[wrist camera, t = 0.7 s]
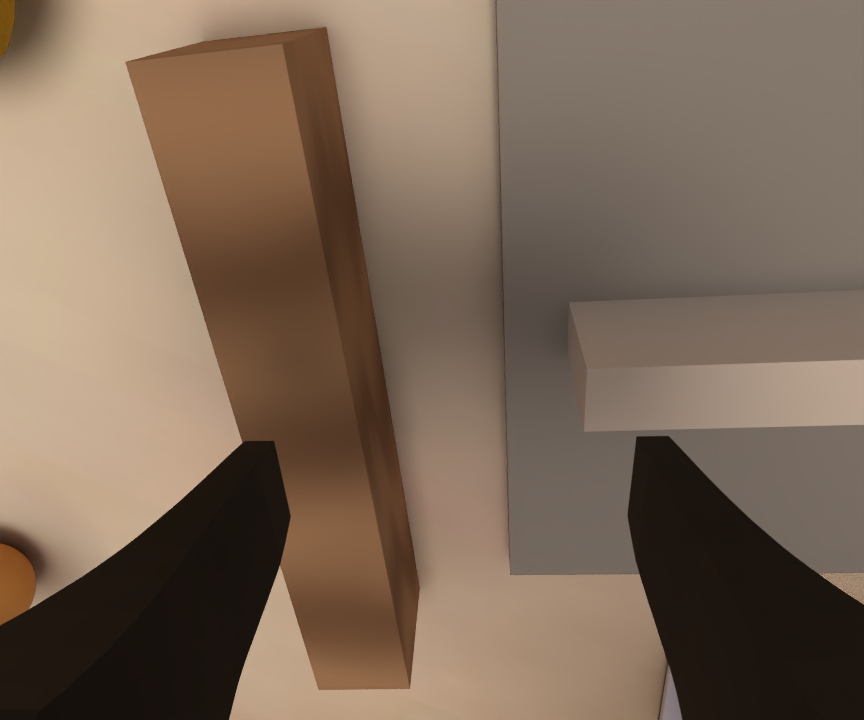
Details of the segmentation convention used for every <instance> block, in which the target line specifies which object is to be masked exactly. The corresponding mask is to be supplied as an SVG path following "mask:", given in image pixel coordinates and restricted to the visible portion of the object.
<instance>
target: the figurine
mask: <svg viewBox="0 0 864 720" xmlns="http://www.w3.org/2000/svg"><path fill="white" fill-rule="evenodd" d="M35 590H36V578H35V573H34V570H33V567H32V565H31V564H30V562H29V560H28V559H27V558H26V557H25V556H24V555H23V554H22V553H21V552H19V551H18V550H16V549H15V548H13V547H10V546H8V545H5V544H0V625H1V624H3V623H5V622H7V621H9V620H11V619H12V618H14V617H16V616H18V615H20V614H22V613H23V612H25V611H27V610H28V609H29V608H30V606H31V604H32V601H33V598H34V595H35Z"/></svg>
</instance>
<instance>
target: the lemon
mask: <svg viewBox="0 0 864 720" xmlns="http://www.w3.org/2000/svg"><path fill="white" fill-rule="evenodd" d="M14 20H15V0H0V59H1V57H2V55H3V54H4V52H5V50H6V49H7V47H8V45H9V42H10V38H11V33H12V29H13V25H14Z"/></svg>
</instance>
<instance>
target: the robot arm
mask: <svg viewBox="0 0 864 720" xmlns="http://www.w3.org/2000/svg"><path fill="white" fill-rule="evenodd" d="M627 517H628V522H629V528H630V534H631V539H632V545H633V550H634V555H635V560H636V564H637V567H638V571H639V574H640V577H641V580H642V583H643V587H644V590H645V593H646V596H647V599H648V602H649V605H650V608H651V612H652V615H653V618H654V621H655V624H656V627H657V630H658V633H659V636H660V639H661V642H662V646H663V649H664V652H665V655H666V658H667V661H668V668H667V674H666V680H665V687H664V693H663V699H662V705H661V712H660V718H659V720H864V605H863V604H862V603H860V602H859V601H857V600H856V599H854V598H852V597H851V596H849V595H848V594H846V593H845V592H843V591H842V590H840V589H839V588H837V587H836V586H835V585H833V584H832V583H830V582H829V581H827V580H826V579H825V578H823V577H822V576H821V575H819V574H818V573H817V572H815V571H814V570H812V569H811V568H810V567H808V566H807V565H806V564H804V563H803V562H802V561H800V560H799V559H798V558H796V557H795V556H794V555H793V554H791V553H790V552H789V551H788V550H786V549H785V548H784V547H783V546H781V545H780V544H779V543H778V542H776V541H775V540H774V539H773V538H772V537H771V536H770V535H768V534H767V533H766V532H765V531H764V530H763V529H761V528H760V527H759V526H758V525H757V524H756V523H754V522H753V521H752V520H751V519H750V518H749V517H748V516H747V515H746V514H745V513H744V512H743V511H742V510H741V509H740V508H739V507H737V506H736V505H735V504H734V503H733V502H732V501H731V500H730V499H729V498H728V497H727V496H726V495H725V494H724V493H723V492H722V491H721V490H720V489H719V488H718V487H717V486H716V485H715V484H714V483H713V482H712V481H711V480H710V479H709V478H708V477H707V476H706V475H705V474H704V473H703V471H702V470H701V469H700V468H699V467H698V466H697V465H696V464H695V463H694V462H693V461H692V460H691V459H690V458H689V457H688V456H687V454H686V453H685V452H684V451H683V450H682V449H681V448H680V447H679V446H678V445H677V444H676V443H675V442H674V441H673V440H672V439H671V438H670V437H669V436H636V445H635V453H634V462H633V470H632V479H631V488H630V496H629V505H628V514H627ZM290 518H291V514H290V510H289V505H288V501H287V496H286V492H285V487H284V483H283V478H282V474H281V469H280V465H279V460H278V456H277V451H276V447H275V442H274V441H245V442H243V443H242V444H241V445H240V446H239V447H238V448H237V449H235V450H234V451H233V452H232V453H231V454H230V455H229V456H228V457H227V458H226V459H225V460H224V461H223V462H222V463H221V464H219V465H218V466H217V467H216V468H215V469H214V470H213V471H212V472H211V473H210V474H209V475H208V476H207V477H206V478H205V479H204V480H202V481H201V482H200V483H199V484H198V485H197V486H196V487H195V488H194V489H193V490H192V491H190V492H189V493H188V494H187V495H186V496H185V497H184V498H183V499H182V500H181V501H180V502H178V503H177V504H176V505H175V506H174V507H173V508H171V509H170V510H169V511H168V512H167V513H165V514H164V515H163V516H162V517H161V518H159V519H158V520H157V521H156V522H155V523H153V524H152V525H151V526H150V527H149V528H147V529H146V530H145V531H144V532H143V533H142V534H140V535H139V536H138V537H137V538H135V539H134V540H133V541H132V542H130V543H129V544H128V545H126V546H125V547H124V548H122V549H121V550H120V551H118V552H117V553H116V554H114V555H113V556H111V557H110V558H109V559H107V560H106V561H104V562H103V563H101V564H100V565H99V566H97V567H96V568H94V569H93V570H92V571H90V572H89V573H87V574H86V575H84V576H83V577H81V578H79V579H78V580H76V581H75V582H73V583H71V584H70V585H68V586H66V587H65V588H63V589H62V590H60V591H58V592H57V593H55V594H54V595H52V596H50V597H49V598H47V599H45V600H44V601H42V602H41V603H39V604H37V605H36V606H34V607H32V608H30V609H29V610H27V611H25V612H23V613H22V614H20V615H18V616H16V617H14V618H12V619H11V620H9V621H7V622H5V623H3V624H1V625H0V720H229V717H230V713H231V709H232V705H233V701H234V697H235V693H236V689H237V686H238V682H239V679H240V676H241V673H242V669H243V666H244V663H245V660H246V657H247V655H248V652H249V649H250V646H251V644H252V641H253V638H254V635H255V633H256V630H257V627H258V625H259V622H260V619H261V616H262V614H263V611H264V608H265V605H266V603H267V600H268V597H269V594H270V592H271V589H272V586H273V583H274V580H275V578H276V575H277V572H278V569H279V566H280V563H281V560H282V555H283V551H284V547H285V543H286V538H287V533H288V528H289V523H290Z"/></svg>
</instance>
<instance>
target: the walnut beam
mask: <svg viewBox="0 0 864 720" xmlns="http://www.w3.org/2000/svg"><path fill="white" fill-rule="evenodd" d="M126 65H127V69H128V72H129V75H130V78H131V82H132V85H133V88H134V91H135V95H136V98H137V101H138V104H139V108H140V111H141V114H142V117H143V121H144V124H145V127H146V130H147V134H148V137H149V140H150V143H151V147H152V150H153V153H154V156H155V160H156V163H157V166H158V169H159V173H160V176H161V179H162V182H163V186H164V189H165V192H166V195H167V199H168V202H169V205H170V208H171V212H172V215H173V218H174V221H175V225H176V228H177V231H178V234H179V238H180V241H181V244H182V247H183V251H184V254H185V257H186V260H187V264H188V267H189V270H190V273H191V277H192V280H193V283H194V286H195V290H196V293H197V296H198V299H199V303H200V306H201V309H202V312H203V316H204V319H205V322H206V325H207V329H208V332H209V335H210V338H211V342H212V345H213V348H214V351H215V355H216V358H217V361H218V364H219V368H220V371H221V374H222V377H223V381H224V384H225V387H226V390H227V393H228V397H229V400H230V403H231V406H232V410H233V413H234V416H235V419H236V423H237V426H238V429H239V432H240V436H241V439H242V442H245V441H274V442H275V447H276V451H277V456H278V460H279V465H280V469H281V474H282V478H283V483H284V487H285V492H286V496H287V501H288V505H289V510H290V514H291V518H290V523H289V528H288V533H287V538H286V543H285V547H284V551H283V555H282V560H281V563H280V566H281V569H282V572H283V575H284V579H285V582H286V585H287V588H288V592H289V595H290V598H291V601H292V605H293V608H294V611H295V614H296V618H297V621H298V624H299V627H300V631H301V634H302V637H303V640H304V644H305V647H306V650H307V653H308V657H309V660H310V663H311V666H312V670H313V673H314V676H315V679H316V683H317V686H318V689H319V690H346V689H410V683H411V672H412V662H413V652H414V641H415V631H416V620H417V610H418V600H419V589H420V587H419V581H418V575H417V569H416V563H415V557H414V551H413V545H412V539H411V533H410V527H409V521H408V515H407V509H406V503H405V497H404V491H403V485H402V479H401V473H400V467H399V461H398V455H397V449H396V443H395V437H394V431H393V425H392V419H391V413H390V407H389V401H388V395H387V389H386V383H385V377H384V371H383V365H382V359H381V353H380V347H379V341H378V335H377V329H376V323H375V317H374V311H373V305H372V299H371V293H370V287H369V281H368V275H367V269H366V263H365V257H364V251H363V245H362V239H361V233H360V227H359V221H358V215H357V209H356V203H355V197H354V191H353V185H352V179H351V173H350V167H349V161H348V155H347V149H346V143H345V137H344V131H343V125H342V119H341V113H340V107H339V101H338V95H337V89H336V83H335V77H334V71H333V65H332V59H331V53H330V47H329V41H328V35H327V29H326V27H325V28H316V29H308V30H299V31H290V32H282V33H273V34H265V35H256V36H248V37H239V38H230V39H222V40H213V41H205V42H200V43H196V44H192V45H188V46H185V47H181V48H177V49H173V50H169V51H166V52H162V53H158V54H154V55H150V56H146V57H143V58H139V59H135V60H131V61H127V62H126Z"/></svg>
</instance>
